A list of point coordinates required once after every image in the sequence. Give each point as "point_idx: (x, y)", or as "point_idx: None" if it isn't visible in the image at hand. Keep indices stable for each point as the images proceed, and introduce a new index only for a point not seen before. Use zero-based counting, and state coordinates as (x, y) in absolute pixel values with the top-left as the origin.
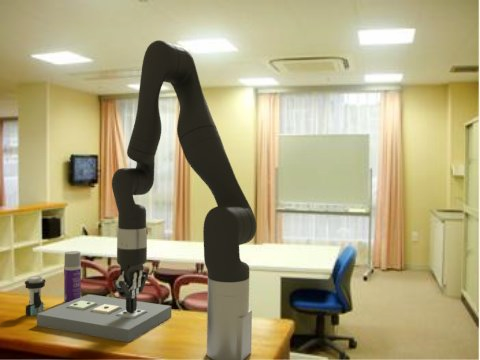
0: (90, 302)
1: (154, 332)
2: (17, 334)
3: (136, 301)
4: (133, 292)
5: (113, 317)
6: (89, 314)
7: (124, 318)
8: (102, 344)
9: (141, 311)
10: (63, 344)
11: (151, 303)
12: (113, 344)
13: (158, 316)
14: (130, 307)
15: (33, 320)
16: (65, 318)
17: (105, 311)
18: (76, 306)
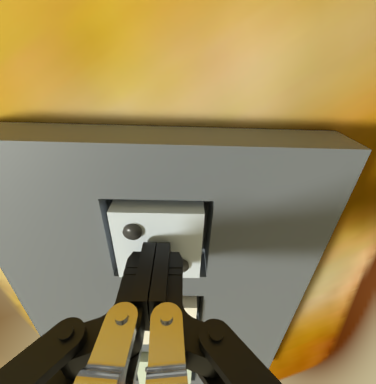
0: (145, 369)
1: (196, 86)
2: (304, 358)
3: (135, 277)
4: (166, 344)
5: (226, 273)
6: None
7: (223, 238)
8: (358, 201)
9: (129, 220)
10: (359, 280)
11: None
12: None
13: (87, 136)
14: (181, 266)
15: None
16: (273, 351)
17: (196, 314)
18: (189, 374)
